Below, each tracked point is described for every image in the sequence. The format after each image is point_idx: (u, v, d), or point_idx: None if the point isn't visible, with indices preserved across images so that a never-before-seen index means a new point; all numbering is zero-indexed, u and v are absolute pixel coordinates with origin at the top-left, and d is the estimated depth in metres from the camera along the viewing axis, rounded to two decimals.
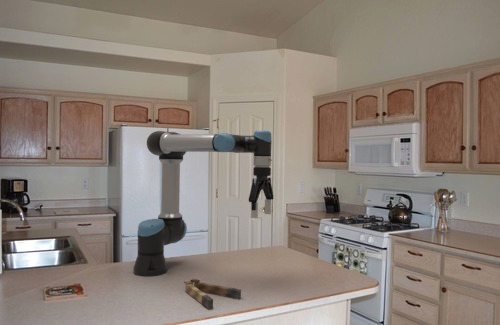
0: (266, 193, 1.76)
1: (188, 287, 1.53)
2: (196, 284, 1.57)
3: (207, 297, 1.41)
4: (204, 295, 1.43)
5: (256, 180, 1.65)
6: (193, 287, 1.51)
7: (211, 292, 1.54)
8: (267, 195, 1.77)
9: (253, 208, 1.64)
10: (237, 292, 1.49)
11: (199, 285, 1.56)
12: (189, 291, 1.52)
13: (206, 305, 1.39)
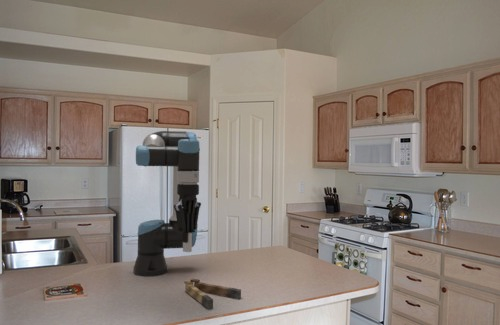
0: (188, 221, 1.40)
1: (188, 287, 1.53)
2: (196, 284, 1.57)
3: (207, 297, 1.41)
4: (204, 295, 1.43)
5: (178, 208, 1.33)
6: (193, 287, 1.51)
7: (211, 292, 1.54)
8: (189, 224, 1.40)
9: (184, 240, 1.37)
10: (237, 292, 1.49)
11: (199, 285, 1.56)
12: (189, 291, 1.52)
13: (206, 305, 1.39)
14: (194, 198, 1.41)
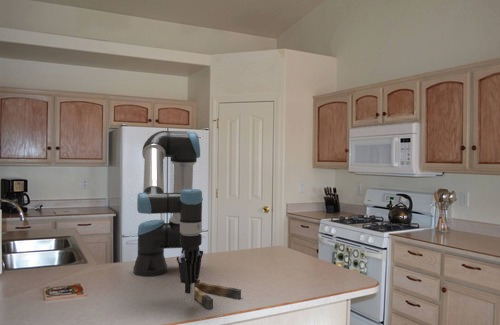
0: None
1: None
2: (196, 284, 1.57)
3: (207, 297, 1.41)
4: (204, 295, 1.43)
5: (181, 261, 1.33)
6: None
7: (211, 292, 1.54)
8: None
9: (187, 291, 1.37)
10: (237, 292, 1.49)
11: (199, 285, 1.56)
12: None
13: (206, 305, 1.39)
14: (196, 248, 1.40)
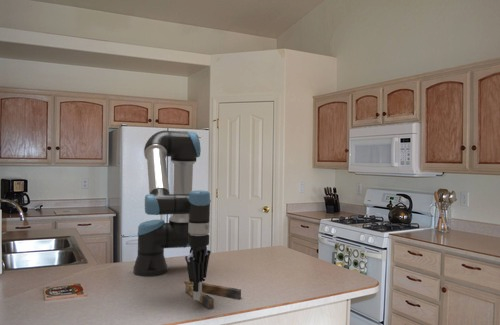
0: None
1: (188, 287, 1.53)
2: None
3: (208, 297, 1.41)
4: (205, 295, 1.43)
5: (189, 260, 1.37)
6: None
7: (211, 292, 1.54)
8: None
9: (195, 289, 1.41)
10: (237, 292, 1.49)
11: None
12: (189, 291, 1.52)
13: (207, 305, 1.39)
14: (204, 247, 1.44)
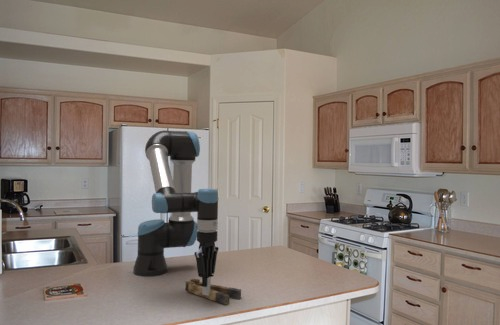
0: (207, 265, 1.48)
1: (192, 287, 1.54)
2: (196, 284, 1.57)
3: (222, 294, 1.44)
4: (217, 292, 1.46)
5: (199, 255, 1.42)
6: (199, 286, 1.52)
7: None
8: (207, 269, 1.48)
9: (204, 284, 1.46)
10: (237, 292, 1.49)
11: (199, 285, 1.56)
12: (194, 291, 1.53)
13: (223, 301, 1.43)
14: (212, 244, 1.49)
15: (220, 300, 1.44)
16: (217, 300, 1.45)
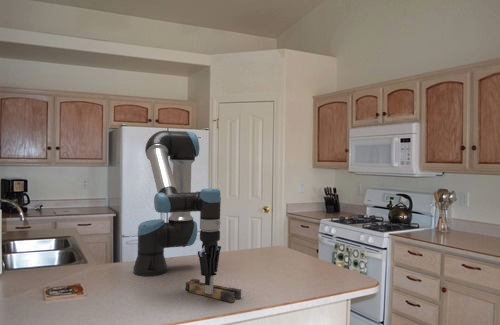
0: None
1: (194, 286, 1.54)
2: None
3: (227, 292, 1.47)
4: (222, 291, 1.48)
5: (202, 255, 1.43)
6: (201, 286, 1.53)
7: None
8: (210, 267, 1.50)
9: (207, 283, 1.47)
10: (237, 292, 1.49)
11: None
12: (196, 290, 1.53)
13: (229, 299, 1.45)
14: (215, 243, 1.51)
15: (226, 298, 1.46)
16: (222, 298, 1.47)
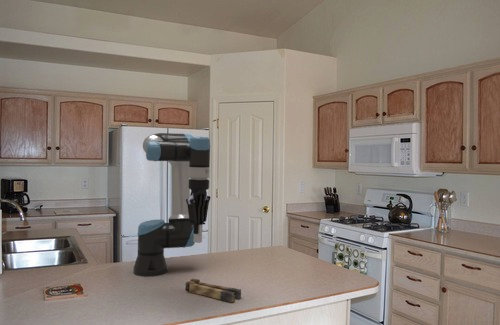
0: None
1: (194, 286, 1.54)
2: None
3: (227, 292, 1.47)
4: (222, 290, 1.48)
5: (190, 202, 1.42)
6: (201, 286, 1.53)
7: None
8: None
9: (195, 231, 1.46)
10: (237, 292, 1.49)
11: None
12: (196, 290, 1.53)
13: (229, 299, 1.45)
14: (204, 192, 1.49)
15: (226, 298, 1.46)
16: (222, 298, 1.47)
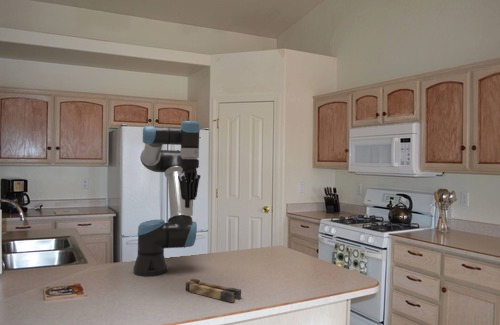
0: None
1: (194, 286, 1.54)
2: None
3: (227, 292, 1.47)
4: (222, 290, 1.48)
5: (182, 178, 1.59)
6: (201, 286, 1.53)
7: None
8: None
9: (186, 206, 1.64)
10: (237, 292, 1.49)
11: None
12: (196, 290, 1.53)
13: (229, 299, 1.45)
14: (195, 171, 1.67)
15: (226, 298, 1.46)
16: (222, 298, 1.47)
